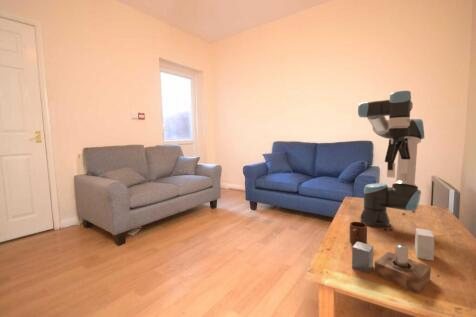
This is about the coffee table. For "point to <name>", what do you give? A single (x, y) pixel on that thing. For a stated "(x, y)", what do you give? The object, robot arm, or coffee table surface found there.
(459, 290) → the coffee table surface
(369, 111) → the robot arm
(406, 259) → the round peg
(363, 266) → the square block
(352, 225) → the mug
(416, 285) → the socket block
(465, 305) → the coffee table surface
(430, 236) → the small box
